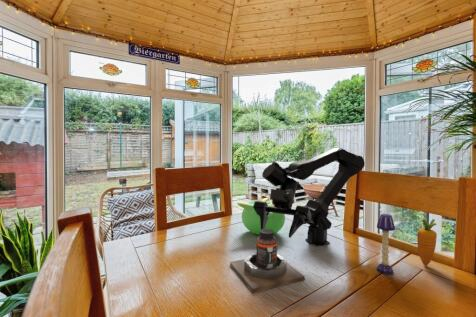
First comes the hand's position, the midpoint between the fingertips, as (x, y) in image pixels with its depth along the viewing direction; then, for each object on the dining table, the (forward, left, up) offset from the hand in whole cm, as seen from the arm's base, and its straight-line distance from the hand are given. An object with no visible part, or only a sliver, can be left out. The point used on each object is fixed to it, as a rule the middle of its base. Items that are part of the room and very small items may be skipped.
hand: (275, 234), depth 83 cm
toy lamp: (-27, +17, -9) cm, 33 cm away
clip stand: (+6, +4, -9) cm, 11 cm away
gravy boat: (-8, -24, -9) cm, 27 cm away
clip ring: (+6, +4, -9) cm, 11 cm away
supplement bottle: (+6, +4, -8) cm, 11 cm away
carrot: (-41, +20, -9) cm, 47 cm away
